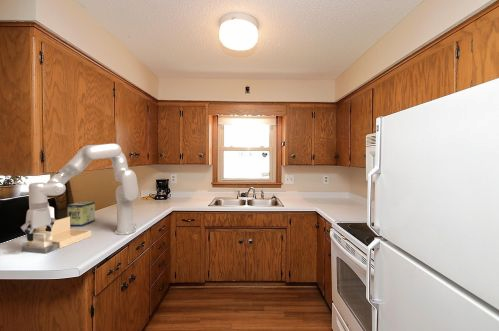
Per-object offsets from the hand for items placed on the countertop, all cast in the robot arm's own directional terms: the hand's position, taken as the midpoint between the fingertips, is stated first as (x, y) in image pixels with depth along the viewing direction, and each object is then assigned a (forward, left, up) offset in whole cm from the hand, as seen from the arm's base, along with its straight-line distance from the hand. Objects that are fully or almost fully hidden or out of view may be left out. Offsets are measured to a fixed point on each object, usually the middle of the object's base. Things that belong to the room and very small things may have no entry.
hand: (39, 237), depth 136 cm
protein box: (-51, -24, -7) cm, 57 cm away
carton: (-15, 0, -7) cm, 17 cm away
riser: (0, 0, -7) cm, 7 cm away
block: (0, 0, -4) cm, 4 cm away
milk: (-17, -16, -7) cm, 24 cm away
